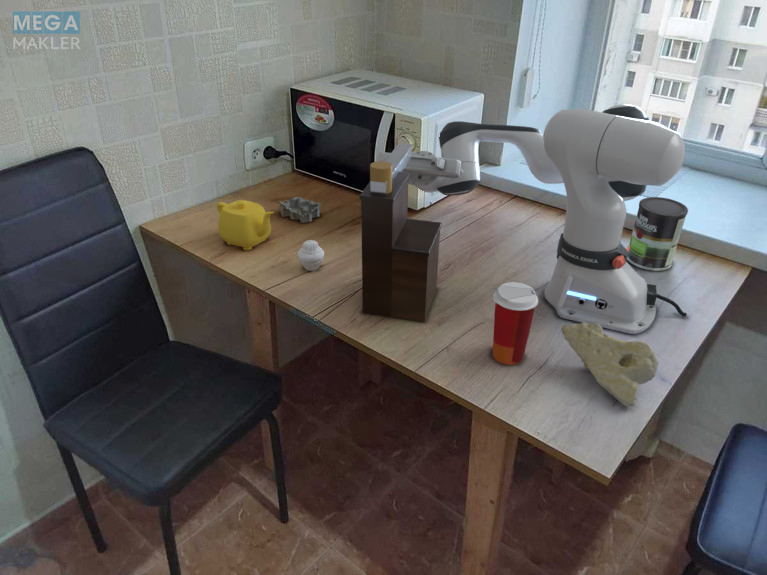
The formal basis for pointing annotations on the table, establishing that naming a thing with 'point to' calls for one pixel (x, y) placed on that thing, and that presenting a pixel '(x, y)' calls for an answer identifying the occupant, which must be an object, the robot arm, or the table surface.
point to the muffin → (310, 255)
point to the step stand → (397, 255)
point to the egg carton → (300, 209)
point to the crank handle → (389, 169)
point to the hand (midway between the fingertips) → (414, 159)
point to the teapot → (243, 223)
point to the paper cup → (512, 321)
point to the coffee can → (656, 233)
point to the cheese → (613, 360)
